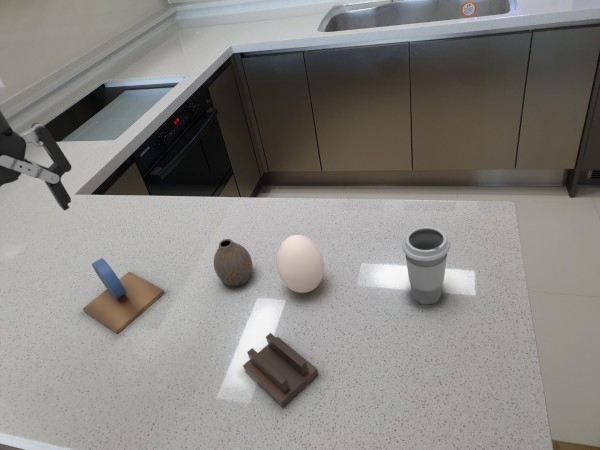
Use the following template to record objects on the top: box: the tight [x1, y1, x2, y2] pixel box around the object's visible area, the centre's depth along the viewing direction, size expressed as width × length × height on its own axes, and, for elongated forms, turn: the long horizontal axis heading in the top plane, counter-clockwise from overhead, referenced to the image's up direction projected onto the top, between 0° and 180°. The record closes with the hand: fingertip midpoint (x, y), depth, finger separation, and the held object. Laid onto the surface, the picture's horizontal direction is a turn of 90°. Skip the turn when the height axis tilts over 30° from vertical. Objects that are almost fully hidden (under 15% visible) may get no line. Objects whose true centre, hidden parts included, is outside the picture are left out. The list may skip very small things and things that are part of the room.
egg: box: [276, 234, 325, 294], centre depth 78 cm, size 8×8×11 cm
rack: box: [242, 332, 320, 409], centre depth 67 cm, size 7×9×4 cm
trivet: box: [82, 271, 165, 334], centre depth 86 cm, size 11×11×1 cm
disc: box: [91, 257, 126, 300], centre depth 85 cm, size 2×8×8 cm
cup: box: [401, 225, 451, 305], centre depth 72 cm, size 7×7×12 cm
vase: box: [213, 238, 253, 287], centre depth 84 cm, size 7×7×9 cm
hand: (31, 224), depth 55 cm, fingers open, 8 cm apart
